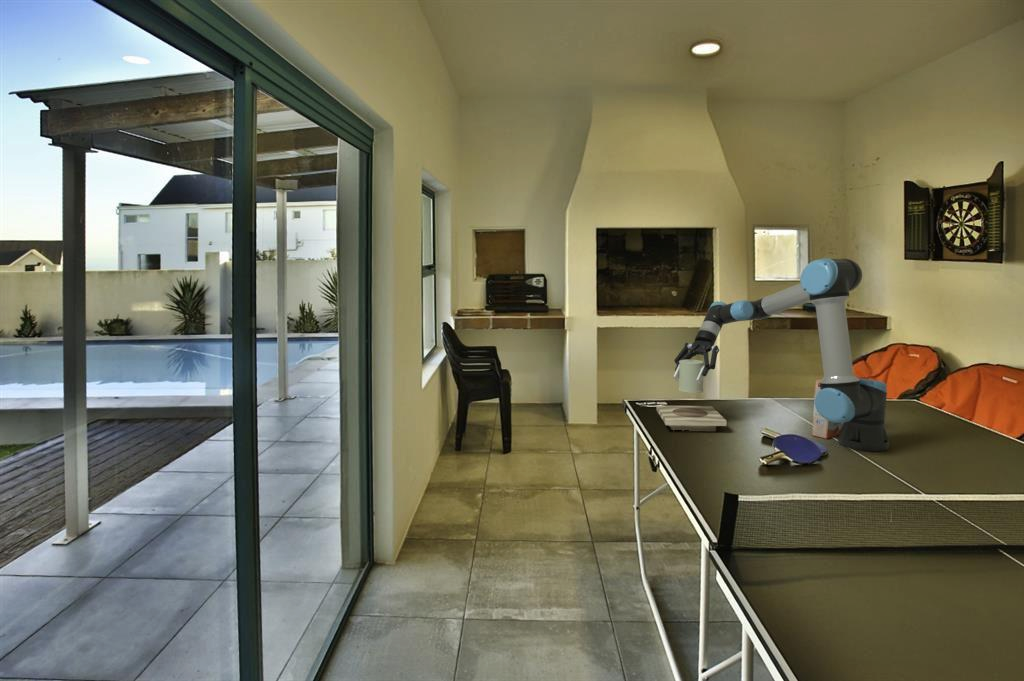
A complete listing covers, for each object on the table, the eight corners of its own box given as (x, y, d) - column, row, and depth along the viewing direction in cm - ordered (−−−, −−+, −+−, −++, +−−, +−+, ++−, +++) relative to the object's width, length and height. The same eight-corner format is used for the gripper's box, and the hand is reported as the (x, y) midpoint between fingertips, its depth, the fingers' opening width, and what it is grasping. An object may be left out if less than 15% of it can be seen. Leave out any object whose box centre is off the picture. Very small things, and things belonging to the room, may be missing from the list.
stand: (726, 433, 213) (726, 419, 213) (665, 433, 215) (666, 419, 215) (711, 418, 235) (711, 405, 234) (656, 417, 237) (656, 404, 236)
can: (700, 388, 228) (700, 358, 226) (705, 393, 218) (706, 362, 217) (676, 387, 228) (676, 358, 227) (680, 393, 219) (681, 362, 218)
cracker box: (828, 439, 204) (831, 382, 202) (810, 436, 209) (814, 379, 206) (846, 432, 213) (850, 377, 210) (829, 429, 217) (832, 374, 215)
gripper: (736, 343, 224) (716, 389, 215) (685, 338, 239) (665, 382, 230) (731, 331, 220) (710, 378, 211) (679, 327, 235) (658, 371, 226)
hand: (686, 380), depth 221 cm, fingers closed on can, 9 cm apart
